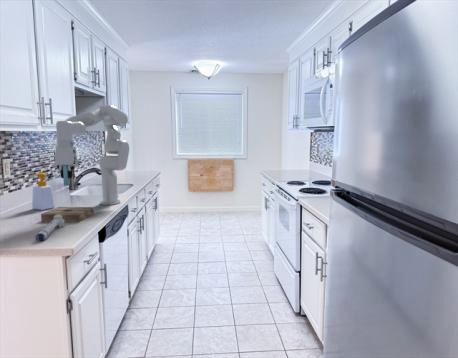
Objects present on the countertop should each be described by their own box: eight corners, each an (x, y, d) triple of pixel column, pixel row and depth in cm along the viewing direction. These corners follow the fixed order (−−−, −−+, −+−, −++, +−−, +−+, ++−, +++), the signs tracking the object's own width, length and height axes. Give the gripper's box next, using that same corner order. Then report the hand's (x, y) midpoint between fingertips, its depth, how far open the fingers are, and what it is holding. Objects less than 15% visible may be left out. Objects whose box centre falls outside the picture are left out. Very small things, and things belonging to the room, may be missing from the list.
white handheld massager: (32, 233, 135) (53, 211, 158) (34, 247, 136) (55, 224, 160) (46, 233, 136) (65, 211, 159) (48, 247, 137) (66, 223, 161)
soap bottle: (24, 210, 189) (21, 173, 186) (45, 206, 202) (43, 171, 199) (35, 212, 186) (32, 174, 183) (56, 207, 198) (53, 172, 195)
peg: (65, 184, 176) (64, 163, 175) (71, 184, 176) (70, 163, 175) (62, 185, 173) (61, 163, 172) (68, 185, 173) (67, 163, 172)
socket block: (59, 213, 184) (58, 206, 183) (93, 214, 183) (93, 207, 183) (41, 221, 167) (40, 214, 166) (79, 222, 166) (78, 214, 166)
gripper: (83, 144, 176) (84, 177, 178) (54, 143, 176) (55, 176, 178) (76, 144, 168) (77, 179, 170) (46, 144, 169) (47, 178, 171)
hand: (66, 177), depth 174 cm, fingers closed on peg, 3 cm apart
